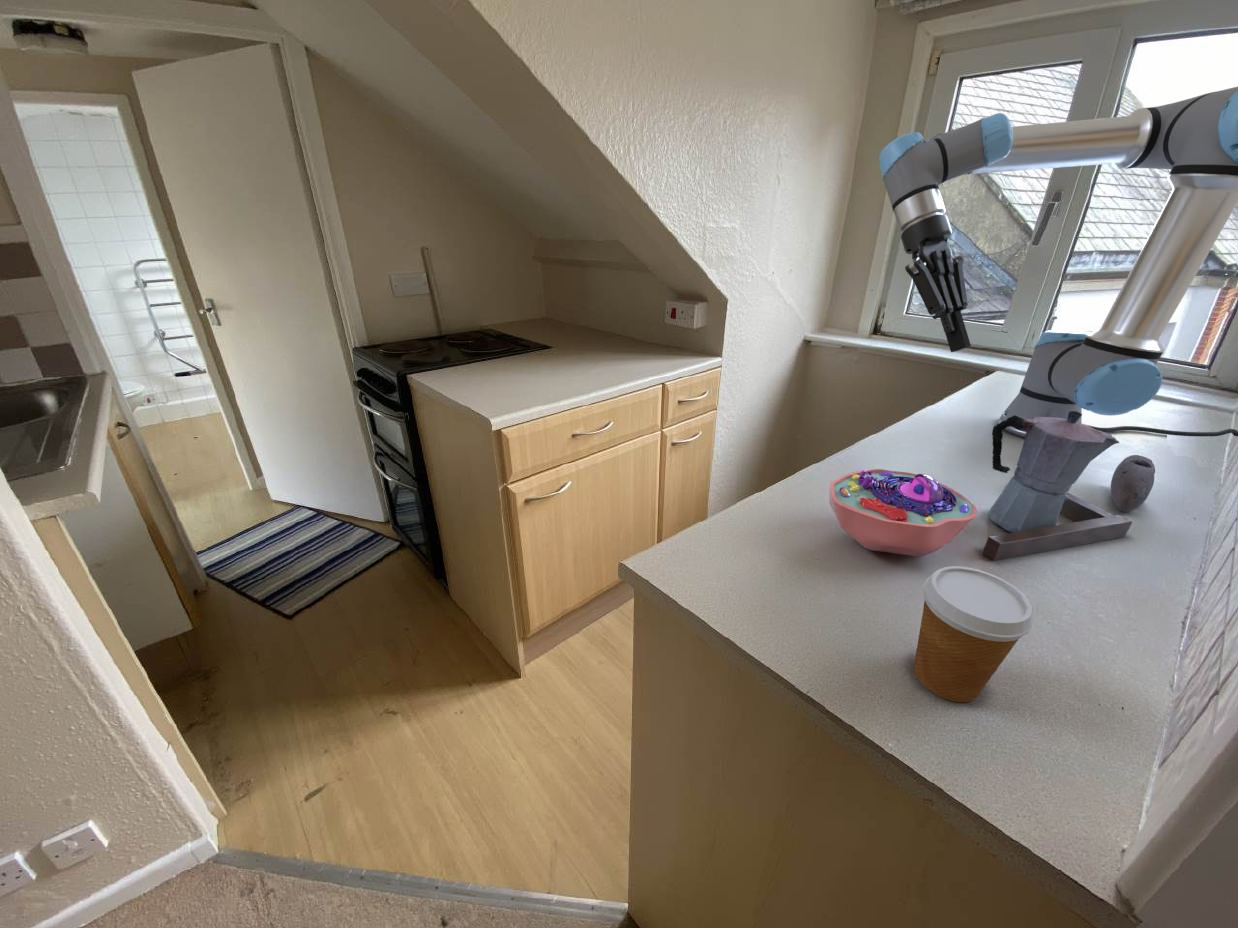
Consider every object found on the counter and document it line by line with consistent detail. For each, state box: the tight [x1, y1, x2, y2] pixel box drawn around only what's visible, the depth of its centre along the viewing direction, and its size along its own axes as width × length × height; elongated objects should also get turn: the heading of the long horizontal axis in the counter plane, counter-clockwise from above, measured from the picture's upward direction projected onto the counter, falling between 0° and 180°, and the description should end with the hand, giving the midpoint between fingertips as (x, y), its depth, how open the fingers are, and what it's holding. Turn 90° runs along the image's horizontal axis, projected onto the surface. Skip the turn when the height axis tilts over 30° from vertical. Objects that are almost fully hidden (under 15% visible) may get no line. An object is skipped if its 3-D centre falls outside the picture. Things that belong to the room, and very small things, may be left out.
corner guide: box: [981, 492, 1133, 562], centre depth 87 cm, size 26×17×3 cm, turn 105°
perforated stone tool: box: [1110, 454, 1156, 512], centre depth 92 cm, size 15×5×7 cm, turn 135°
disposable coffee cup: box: [913, 565, 1034, 703], centre depth 55 cm, size 10×10×12 cm
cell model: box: [828, 468, 978, 557], centre depth 79 cm, size 17×20×11 cm
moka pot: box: [987, 411, 1120, 533], centre depth 82 cm, size 10×15×20 cm, turn 72°
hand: (960, 349), depth 94 cm, fingers closed
